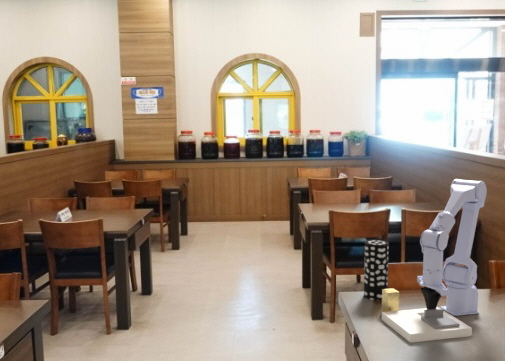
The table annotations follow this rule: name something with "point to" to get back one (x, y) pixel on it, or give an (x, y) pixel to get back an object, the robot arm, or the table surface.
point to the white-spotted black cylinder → (375, 268)
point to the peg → (390, 300)
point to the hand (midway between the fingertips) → (431, 311)
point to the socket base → (422, 326)
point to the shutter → (438, 319)
